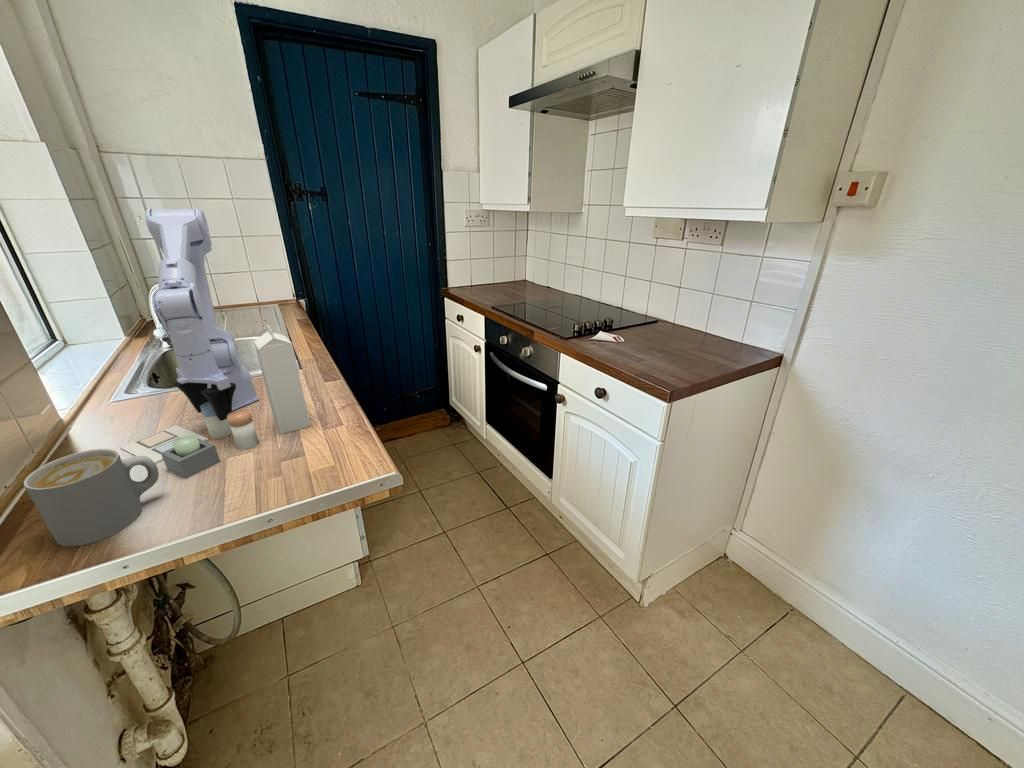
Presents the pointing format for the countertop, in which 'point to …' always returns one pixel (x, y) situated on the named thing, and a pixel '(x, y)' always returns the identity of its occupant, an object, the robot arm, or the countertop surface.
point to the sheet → (158, 443)
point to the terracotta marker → (243, 429)
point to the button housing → (191, 459)
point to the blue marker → (215, 422)
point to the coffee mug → (89, 494)
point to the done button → (186, 445)
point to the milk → (282, 381)
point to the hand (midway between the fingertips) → (214, 414)
